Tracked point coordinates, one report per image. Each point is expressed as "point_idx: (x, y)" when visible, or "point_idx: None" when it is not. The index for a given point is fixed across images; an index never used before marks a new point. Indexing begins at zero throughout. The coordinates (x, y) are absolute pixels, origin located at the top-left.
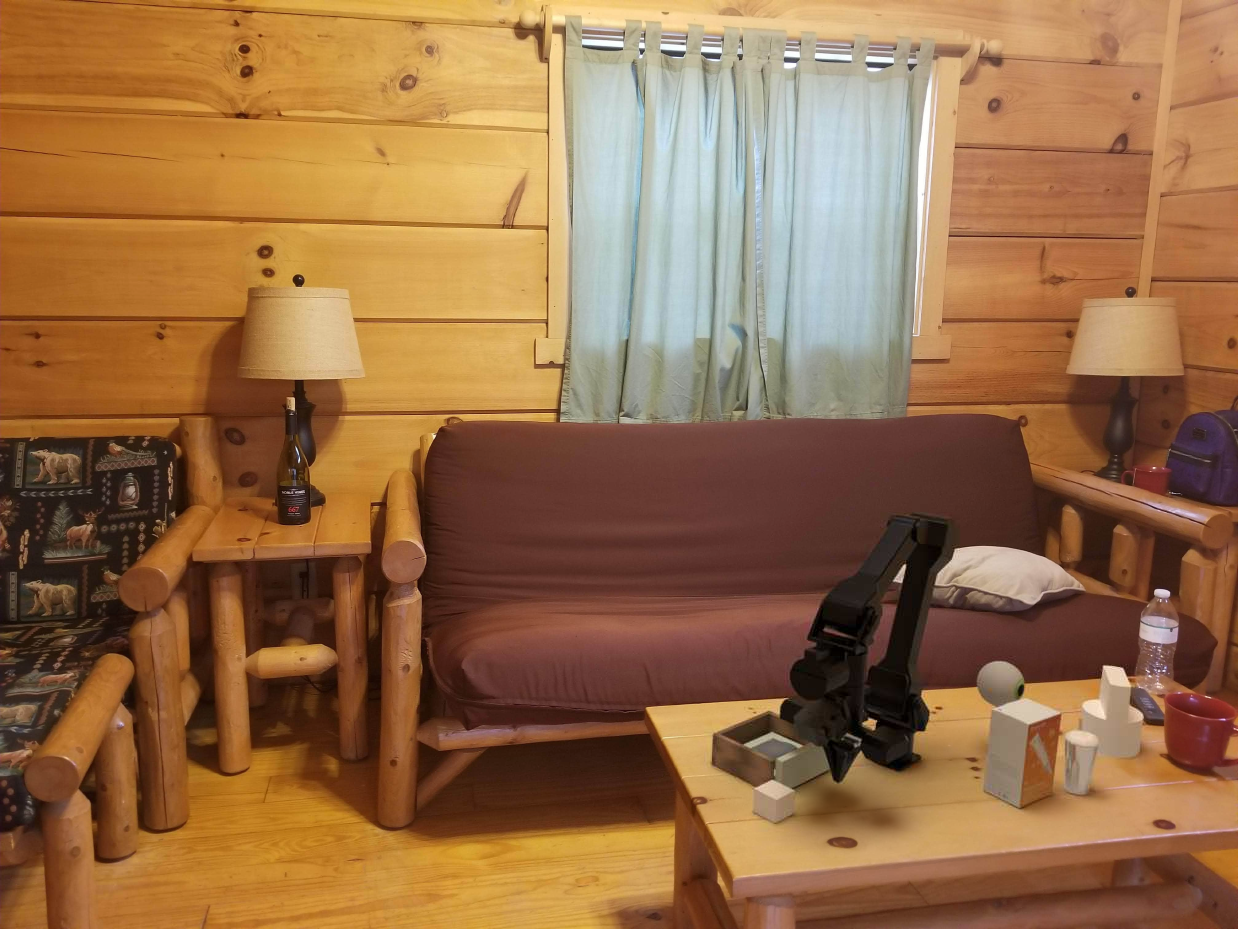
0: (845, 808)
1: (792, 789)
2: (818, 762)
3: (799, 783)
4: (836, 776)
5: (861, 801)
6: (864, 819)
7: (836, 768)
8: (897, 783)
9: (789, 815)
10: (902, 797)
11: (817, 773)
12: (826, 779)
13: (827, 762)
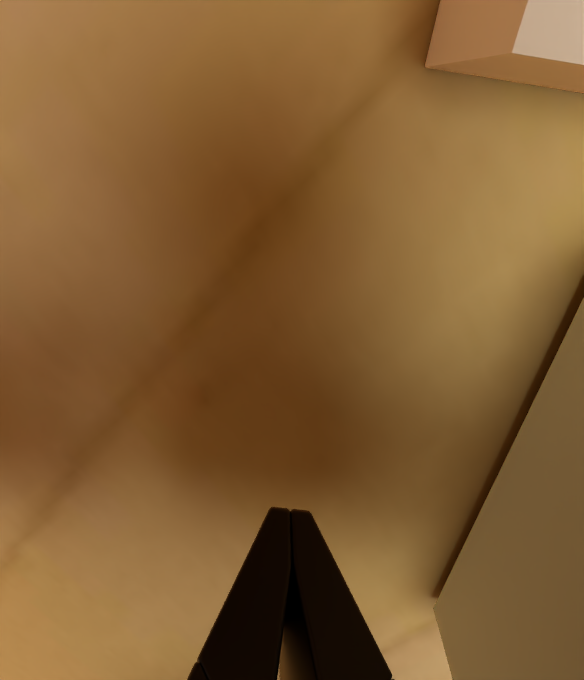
0: (189, 380)
1: (551, 53)
2: (493, 614)
3: (526, 427)
4: (280, 545)
5: (174, 482)
6: (37, 348)
7: (274, 613)
8: (161, 653)
9: (441, 3)
10: (75, 596)
11: (470, 550)
12: (415, 540)
13: (455, 635)
